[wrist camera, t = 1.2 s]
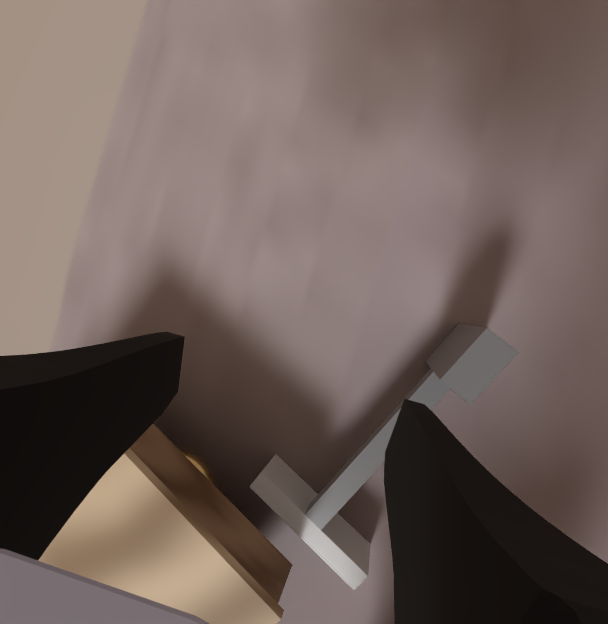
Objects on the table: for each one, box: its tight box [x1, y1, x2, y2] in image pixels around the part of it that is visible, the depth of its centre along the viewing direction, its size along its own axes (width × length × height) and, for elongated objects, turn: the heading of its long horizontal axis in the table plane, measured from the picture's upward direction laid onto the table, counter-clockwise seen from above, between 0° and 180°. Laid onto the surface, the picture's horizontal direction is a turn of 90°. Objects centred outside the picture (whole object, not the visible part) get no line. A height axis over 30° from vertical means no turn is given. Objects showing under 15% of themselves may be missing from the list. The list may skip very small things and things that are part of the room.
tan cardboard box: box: [38, 424, 292, 624], centre depth 22 cm, size 17×12×7 cm
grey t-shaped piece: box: [249, 323, 519, 590], centre depth 19 cm, size 8×15×6 cm, turn 141°
